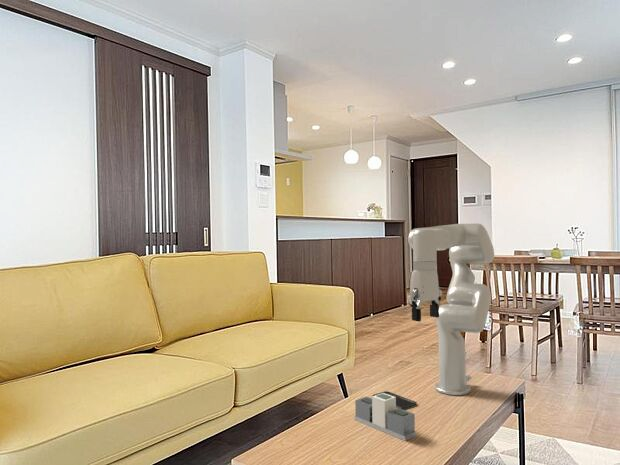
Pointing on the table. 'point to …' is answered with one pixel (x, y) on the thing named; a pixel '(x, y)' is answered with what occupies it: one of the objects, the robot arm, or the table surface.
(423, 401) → the table surface
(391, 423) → the rail
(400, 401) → the phone
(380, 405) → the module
